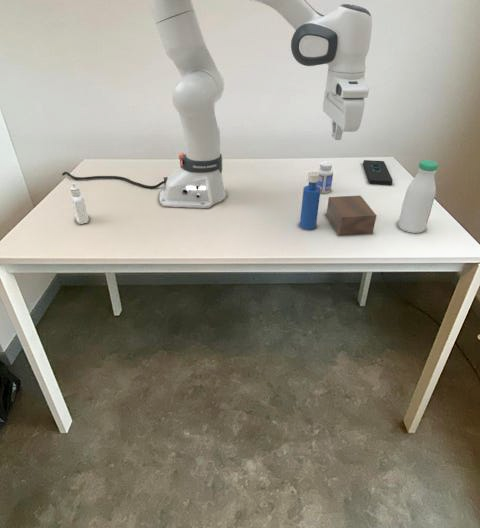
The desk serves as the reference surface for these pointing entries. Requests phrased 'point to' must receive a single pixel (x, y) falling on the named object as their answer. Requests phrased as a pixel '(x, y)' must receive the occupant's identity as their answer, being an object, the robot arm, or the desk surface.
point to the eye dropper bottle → (78, 205)
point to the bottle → (310, 202)
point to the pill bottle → (325, 177)
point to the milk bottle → (419, 198)
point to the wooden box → (350, 215)
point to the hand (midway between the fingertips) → (336, 138)
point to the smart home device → (377, 172)
